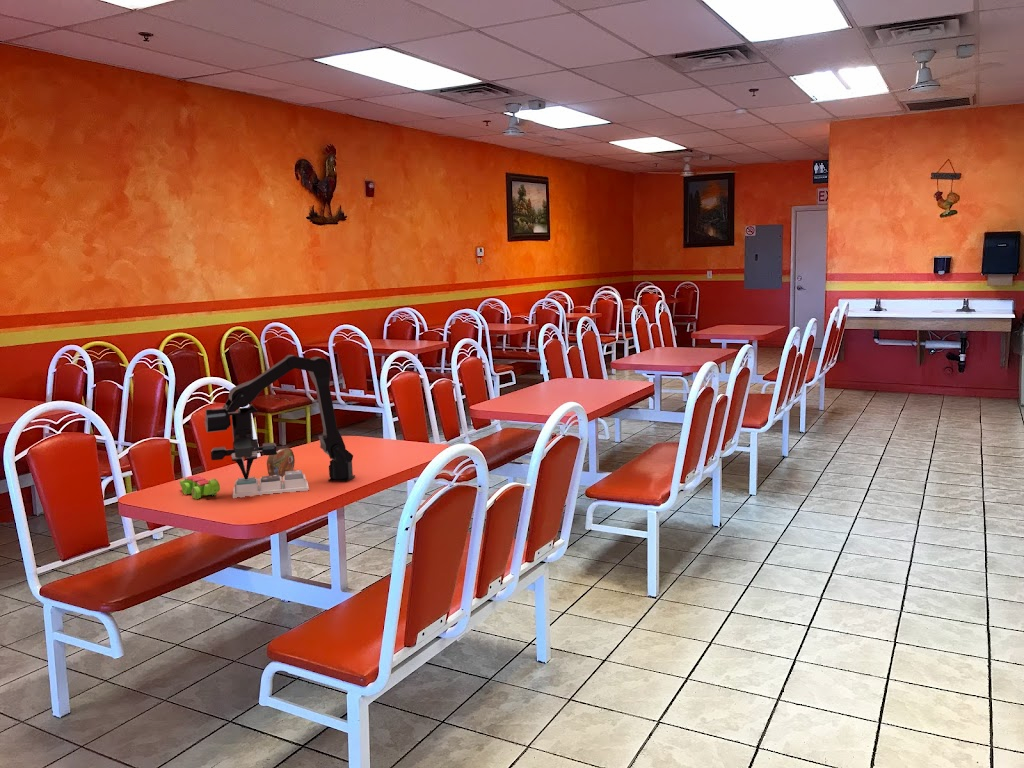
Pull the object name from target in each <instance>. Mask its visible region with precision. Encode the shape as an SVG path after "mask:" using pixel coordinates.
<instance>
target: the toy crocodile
mask: <svg viewBox="0 0 1024 768" xmlns="http://www.w3.org/2000/svg"><path fill="white" fill-rule="evenodd" d="M179 485H180V487H181V490H182V493H183V494H184V495H185V494H189V495H191V496H192V498H193V499H194V498H195V499H194V500H199V498H200V499H201V497H202V496H210V495H212V496H211V497H213V495H214V496H216V495H217V494H218V493H219V492H220V490H221V485H220V483H219V481H218V480H217V479H216V478H212V479H206V478H205V477H204V476H199V475H193V476H187V477H184V479H183V480H179Z"/></svg>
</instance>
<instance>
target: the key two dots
mask: <svg viewBox="0 0 1024 768" xmlns="http://www.w3.org/2000/svg"><path fill="white" fill-rule="evenodd" d="M302 474H303V470H302V469H299V470H293V471H286V472H285V477H286V480H293V479H303V475H302Z"/></svg>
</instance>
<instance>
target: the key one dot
mask: <svg viewBox="0 0 1024 768" xmlns="http://www.w3.org/2000/svg"><path fill="white" fill-rule="evenodd" d="M255 479H256V477H255V476H250V477H249V476H248V479H245V478H244V477H240V478H237V480H238V481H237V484H238V485H242V484H252V483H255Z"/></svg>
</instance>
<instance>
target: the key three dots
mask: <svg viewBox="0 0 1024 768" xmlns="http://www.w3.org/2000/svg"><path fill="white" fill-rule="evenodd" d="M261 478H262V482H273V481H279V475H271V476H269V475H261Z"/></svg>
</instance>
